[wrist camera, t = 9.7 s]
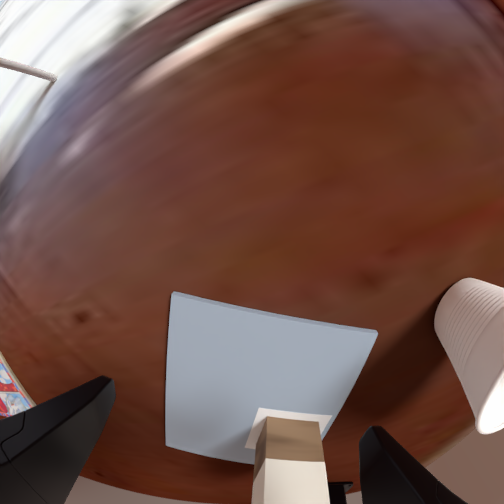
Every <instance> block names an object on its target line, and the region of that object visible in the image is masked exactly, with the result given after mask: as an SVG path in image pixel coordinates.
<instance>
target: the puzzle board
mask: <svg viewBox="0 0 504 504" xmlns="http://www.w3.org/2000/svg"><path fill="white" fill-rule="evenodd" d="M34 406H36V404H35V403H34V401H33V400H32V399H31V397H30V396H29V395H28V393H27V392H26V390H25V389H24V388H23V386H22V385H21V383H20V382H19V380H18V379H17V377H16V376H15V374H14V373H13V371H12V370H11V368H10V367H9V365H8V363H7V362H6V360H5V359H4V357H3V355H2V353H1V352H0V415H2V416H7V417H10V416H12V415H15V414H18V413H20V412H22V411H26V410H27V409H30V408H32V407H34Z"/></svg>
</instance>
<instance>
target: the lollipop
mask: <svg viewBox="0 0 504 504" xmlns="http://www.w3.org/2000/svg"><path fill="white" fill-rule="evenodd" d="M0 67H3V68H7V69H11V70H15V71H19V72H22V73H26V74H29V75H33V76H36V77H40V78H43V79H46V80H49V81H52V82H55V81H56V80H57V75H54V74H51V73H49V72H46V71H43V70H40V69H37V68H34V67H30V66H27V65H24V64H21V63H17V62H14V61H10V60H7V59H3V58H0Z"/></svg>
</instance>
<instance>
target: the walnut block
mask: <svg viewBox="0 0 504 504" xmlns="http://www.w3.org/2000/svg"><path fill="white" fill-rule="evenodd" d="M266 458H268V459H278V460H290V461H308V462H325V461H324V454H323V447H322V440H321V434H320V427H319V422H316V421H304V420H294V419H285V418H277V417H270V416H267V418H266V421H265V423H264V426H263V428H262V431H261V433H260V436H259V438H258V441H257V443H256V450H255V464H254V477H253V482H254V480H255V478H256V476H257V474H258V473H259V471H260V469H261V467H262V465H263V463H264V461H265V459H266Z"/></svg>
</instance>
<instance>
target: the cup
mask: <svg viewBox="0 0 504 504" xmlns="http://www.w3.org/2000/svg"><path fill="white" fill-rule="evenodd" d="M434 327H435V332H436V334H437V336H438V338H439V340H440V342H441V344H442V346H443V347H444V349H445V351H446V353H447V355H448V357H449V359H450V361H451V363H452V365H453V367H454V369H455V371H456V373H457V376H458V377H459V380H460V382H461V384H462V386H463V389H464V391H465V394H466V396H467V398H468V401H469V403H470V406H471V408H472V411H473V413H474V416H475V418H476V422H475V425H476V430H477V431H478V432H479V433H481V434H490V433H494V432H496V431H499V430H501V429H502V428H504V288H501V287H499V286H496V285H493V284H489V283H487V282H484V281H481V280H478V279H475V278H465V279H463V280H460V281H458V282H457V283H455V284H454V285H453V286H452V287H451V288H450V289H449V290H448V291H447V292H446V293H445V295H444V296H443V298H442V299H441V301H440V303H439V305H438V308H437V310H436V314H435V318H434Z"/></svg>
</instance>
